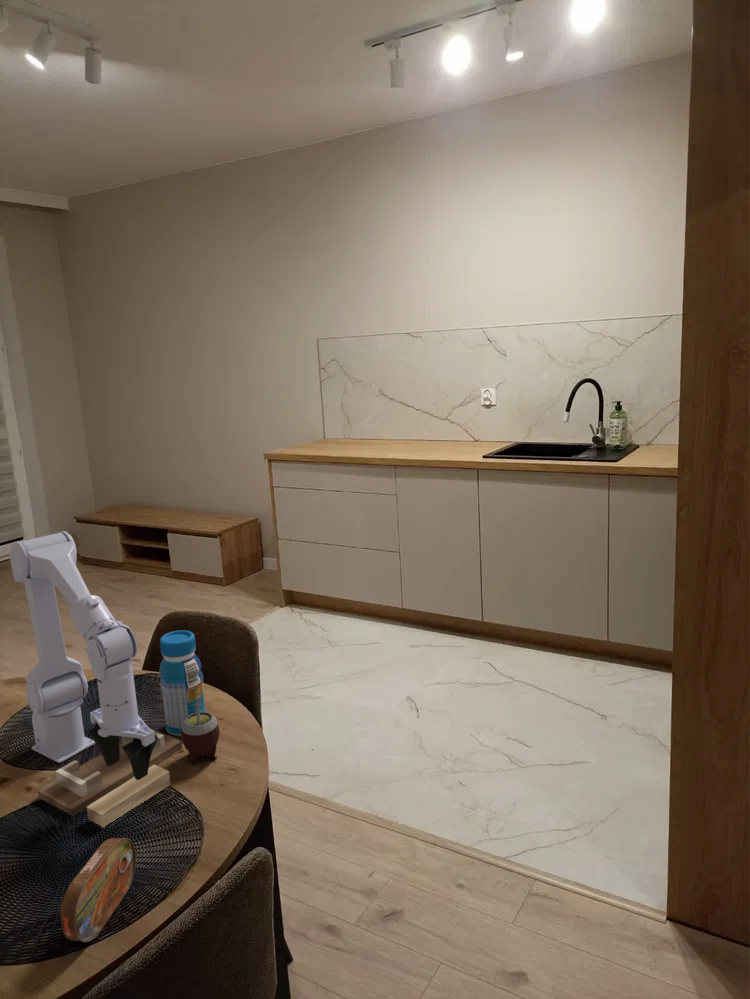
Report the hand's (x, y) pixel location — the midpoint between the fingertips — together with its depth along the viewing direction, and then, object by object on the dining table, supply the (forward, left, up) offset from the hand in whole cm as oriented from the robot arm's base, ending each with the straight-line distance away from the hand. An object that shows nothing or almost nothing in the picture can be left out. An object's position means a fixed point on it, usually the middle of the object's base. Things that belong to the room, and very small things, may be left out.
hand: (127, 769), depth 125 cm
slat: (0, 0, -7) cm, 7 cm away
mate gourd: (+1, +16, -7) cm, 17 cm away
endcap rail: (-10, +4, -6) cm, 13 cm away
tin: (+17, -18, -7) cm, 26 cm away
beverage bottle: (-10, +22, -6) cm, 25 cm away
